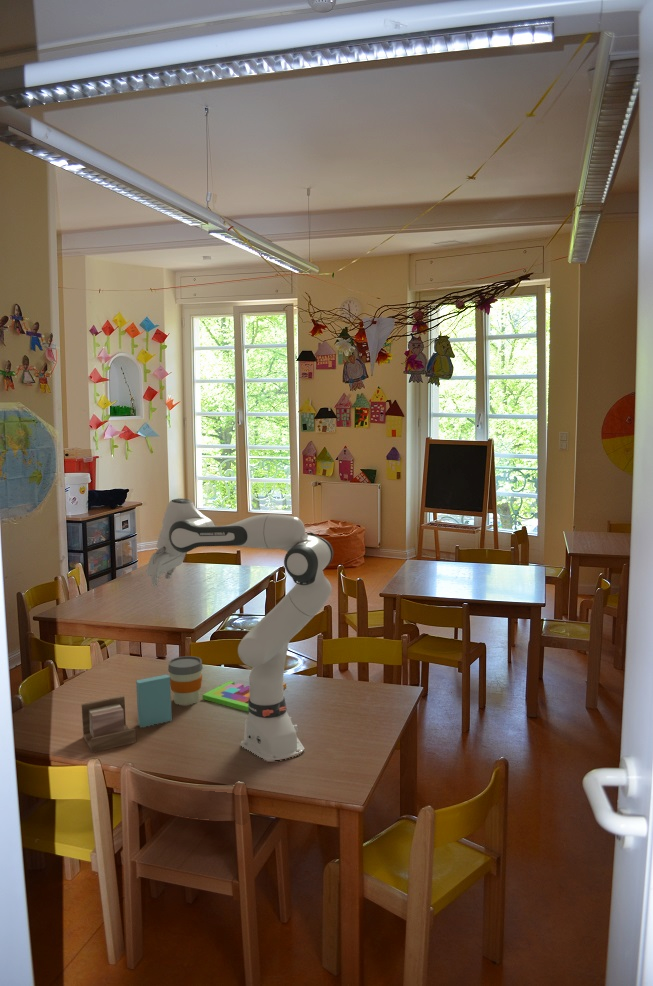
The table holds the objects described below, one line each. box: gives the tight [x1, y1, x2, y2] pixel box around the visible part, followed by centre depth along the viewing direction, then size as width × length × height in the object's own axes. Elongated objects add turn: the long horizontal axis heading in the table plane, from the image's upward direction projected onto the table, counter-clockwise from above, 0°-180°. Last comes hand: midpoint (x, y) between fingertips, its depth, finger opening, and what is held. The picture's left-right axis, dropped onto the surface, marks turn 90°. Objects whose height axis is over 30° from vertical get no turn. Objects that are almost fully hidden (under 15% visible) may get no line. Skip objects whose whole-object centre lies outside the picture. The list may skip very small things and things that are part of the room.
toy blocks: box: [202, 680, 287, 713], centre depth 292 cm, size 23×2×25 cm
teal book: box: [135, 674, 173, 728], centre depth 267 cm, size 3×11×16 cm, turn 119°
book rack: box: [81, 695, 137, 754], centre depth 255 cm, size 13×14×12 cm
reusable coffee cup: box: [167, 655, 203, 706], centre depth 286 cm, size 13×13×15 cm
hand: (161, 581), depth 260 cm, fingers open, 8 cm apart
